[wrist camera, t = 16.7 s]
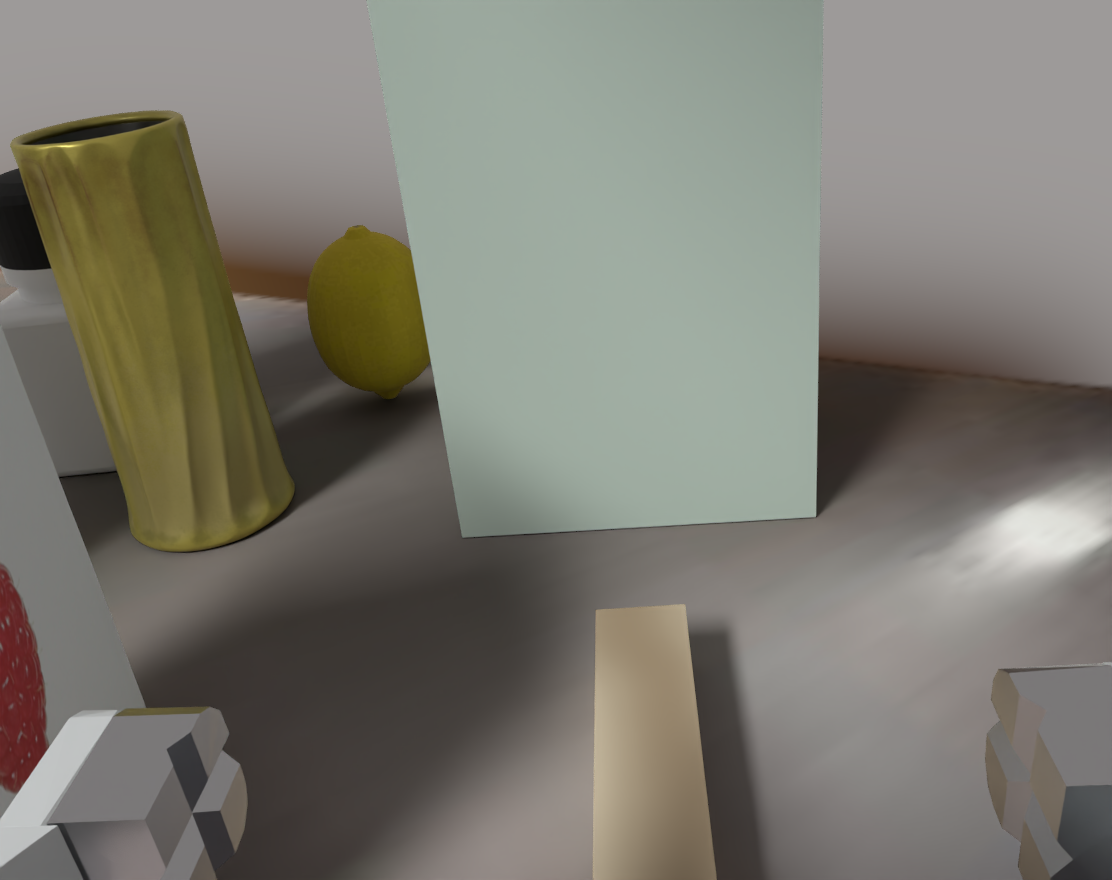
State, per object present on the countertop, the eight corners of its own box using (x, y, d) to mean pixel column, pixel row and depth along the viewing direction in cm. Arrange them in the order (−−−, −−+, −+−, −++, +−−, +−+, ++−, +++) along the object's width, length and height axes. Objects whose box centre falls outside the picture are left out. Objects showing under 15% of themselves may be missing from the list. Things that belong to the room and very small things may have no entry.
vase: (98, 553, 37) (-53, 155, 30) (183, 469, 42) (70, 114, 35) (252, 556, 35) (130, 141, 29) (320, 469, 41) (229, 101, 34)
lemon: (384, 437, 43) (345, 253, 39) (305, 408, 46) (262, 237, 42) (476, 387, 46) (448, 214, 43) (396, 364, 50) (364, 202, 46)
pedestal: (462, 537, 35) (291, -420, 23) (494, 409, 44) (382, -333, 32) (815, 517, 34) (830, -505, 22) (776, 389, 43) (770, -389, 31)
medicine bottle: (196, 465, 42) (106, 177, 37) (29, 483, 42) (-86, 199, 37) (241, 393, 49) (170, 137, 43) (95, 408, 49) (6, 156, 43)
